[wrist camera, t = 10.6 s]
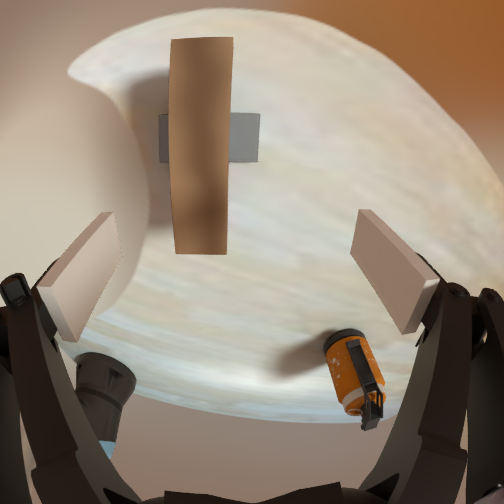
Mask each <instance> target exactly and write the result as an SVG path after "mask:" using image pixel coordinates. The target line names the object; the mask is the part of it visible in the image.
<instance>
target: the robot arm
mask: <svg viewBox="0 0 504 504" xmlns="http://www.w3.org/2000/svg"><path fill="white" fill-rule="evenodd" d="M350 254H351V255H352V257H353V258H354V260H355V261H356V263H357V264H358V266H359V267H360V268H361V270H362V271H363V273H364V275H365V276H366V278H367V279H368V281H369V282H370V284H371V285H372V287H373V288H374V290H375V291H376V293H377V295H378V296H379V298H380V299H381V301H382V303H383V304H384V306H385V307H386V309H387V311H388V312H389V314H390V316H391V317H392V319H393V321H394V322H395V324H396V326H397V327H398V329H399V331H400V332H401V334H402V335H403V334H409V333H414V332H416V330H417V329H418V327H419V325H420V323H421V322H422V323H423V325H424V326H425V329H424V330H423V332H422V334H421V336H420V338H419V340H418V341H417V343H416V345H415V346H416V347H417V346H418V345H419V348H418V352H417V355H416V359H415V363H414V366H413V370H412V373H411V377H410V380H409V383H408V386H407V390H406V393H405V396H404V398H403V401H402V404H401V407H400V410H399V412H398V415H397V418H396V420H395V423H394V426H393V428H392V430H391V433H390V435H389V437H388V440H387V442H386V444H385V446H384V449H383V451H382V453H381V455H380V457H379V459H378V461H377V464H376V465H375V467H374V468H373V470H372V471H371V472H370V474H369V475H368V476H367V477H366V478H365V480H364V481H363V483H362V484H361V486H360V487H359V489H353V488H341V485H340V482H336V483H331V484H327V485H322V486H316V487H311V488H305V489H299V490H296V491H293V492H290V493H288V494H285V495H282V496H279V497H276V498H273V499H269V500H266V501H263V502H259V503H245V502H240V501H235V500H230V499H225V498H221V497H217V496H213V495H208V494H194V493H181V492H171V491H165V493H164V497H157V498H152V499H149V500H145V501H141V499H140V498H139V497H138V496H137V494H136V493H135V492H134V491H133V490H132V489H131V488H130V487H129V486H128V485H127V484H126V483H125V482H124V480H123V479H122V478H121V477H120V475H119V474H118V472H117V471H116V470H115V468H114V466H113V464H112V463H111V461H110V458H111V457H112V455H113V451H114V447H115V445H116V438H117V432H118V427H119V422H120V417H121V412H122V408H123V406H124V405H125V403H126V402H127V400H128V399H129V397H130V396H131V395H132V393H133V392H134V389H135V385H136V378H135V376H134V374H133V373H132V371H131V370H130V369H129V368H127V367H126V366H125V365H124V364H122V363H121V362H119V361H117V360H115V359H113V358H111V357H109V356H106V355H103V354H98V353H85V354H83V355H81V356H80V358H79V361H78V363H77V367H76V390H74V388H73V386H72V383H71V381H70V378H69V376H68V373H67V370H66V367H65V364H64V362H63V359H62V356H61V353H60V350H59V347H58V343H57V341H56V340H55V338H54V335H55V333H56V332H57V330H58V332H59V334H60V336H61V338H62V339H63V340H64V341H70V342H78V340H79V337H80V335H81V333H82V331H83V329H84V327H85V325H86V323H87V321H88V319H89V317H90V315H91V313H92V311H93V309H94V307H95V305H96V303H97V301H98V299H99V298H100V296H101V294H102V292H103V290H104V288H105V287H106V285H107V283H108V281H109V279H110V278H111V276H112V274H113V272H114V271H115V269H116V267H117V265H118V264H119V262H120V260H121V259H122V257H123V256H122V251H121V247H120V242H119V238H118V233H117V228H116V223H115V217H114V212H105V213H101V214H100V215H99V216H98V217H97V218H96V219H95V220H94V221H93V222H92V223H91V224H90V225H89V226H88V227H87V228H86V229H85V230H84V231H83V232H82V233H81V234H80V235H79V237H78V238H77V239H76V240H75V241H74V242H73V243H72V244H71V245H70V246H69V248H68V249H67V250H66V251H65V252H64V253H63V254H62V256H61V257H59V258H58V259H57V260H55V261H54V262H53V263H52V264H51V265H50V266H49V267H48V268H47V271H45V272H44V273H43V276H41V277H40V279H38V281H37V282H36V283H35V284H34V286H33V287H32V288H31V290H30V288H29V286H28V284H27V281H26V278H25V276H24V274H22V273H15V274H12V275H10V276H8V277H7V278H5V279H4V280H3V281H2V282H1V284H0V293H1V296H2V298H3V300H4V302H5V304H6V306H4V307H0V504H32V500H31V493H32V486H33V485H34V487H35V489H36V492H37V494H38V496H39V498H40V500H41V502H42V504H454V503H455V500H456V497H457V494H458V491H459V488H460V485H461V482H462V479H463V475H464V472H465V467H466V464H467V463H468V464H467V477H466V504H504V301H503V299H502V297H501V296H500V295H499V294H498V292H496V291H495V290H493V289H490V288H483V289H482V291H481V293H480V295H479V297H474V296H470V293H469V292H468V291H467V289H465V288H464V287H463V286H461V285H459V284H457V283H453V282H449V283H447V282H446V281H445V280H444V279H443V278H442V277H441V276H440V274H439V273H438V272H437V271H436V270H435V269H433V267H432V266H431V265H430V264H428V262H427V261H426V260H425V259H424V258H423V256H421V255H420V254H418V253H416V252H415V251H413V250H412V249H411V248H410V247H409V246H408V245H407V244H406V243H405V242H404V241H403V240H402V239H401V238H400V237H399V236H398V235H397V234H396V233H395V232H394V231H393V230H392V229H391V228H390V227H389V226H388V225H387V224H386V223H385V222H384V221H383V220H381V219H380V218H379V217H378V216H377V215H376V214H375V213H374V212H373V211H372V210H363V209H359V211H358V217H357V222H356V227H355V233H354V238H353V242H352V247H351V252H350ZM486 333H487V338H486V341H485V343H484V340H483V338H484V336H485V335H486ZM466 409H467V418H468V419H467V422H468V454H467V451H466V450H464V449H461V447H460V441H461V437H462V432H463V427H464V421H465V416H466ZM467 458H468V462H467Z"/></svg>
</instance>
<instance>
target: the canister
mask: <svg viewBox="0 0 504 504" xmlns="http://www.w3.org/2000/svg"><path fill="white" fill-rule="evenodd" d="M324 354H325V357H326V360H327V364H328V367H329V370H330V373H331V377H332V380H333V384H334V387H335V390H336V394H337V397H338V401H339V402H340V403H341V404H343V407H344V410H345V412H346V413H347V414H348V415H351V416H360V415H361V416H362V423H363V424H362V425H361V429H362V430H364V431H366V430H370V429H373V428H376V427H377V424H378V422H379V420H380V418H383V403H384V401H385V399H386V392H385V389H384V385H385V381H384V379H383V377H382V374H381V372H380V370H379V367H378V365H377V363H376V360H375V358H374V356H373V354H372V351H371V349H370V347H369V345H368V342H367V340H366V338H365V336H364V334H363V333H362V332H361V331H358V330H347V331H343V332H341V333H338V334H336V335H335V336H333V337H332V338H331V339H330V340H329V341H328V342H327V343H326V344H325V347H324Z"/></svg>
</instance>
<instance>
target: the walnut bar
mask: <svg viewBox="0 0 504 504" xmlns="http://www.w3.org/2000/svg"><path fill="white" fill-rule="evenodd" d="M232 62H233V37H201V38H184V39H172V40H171V52H170V72H169V166H170V188H171V204H172V218H173V230H174V241H175V252H176V254H208V255H227V224H228V166H229V132H230V105H231V82H232Z"/></svg>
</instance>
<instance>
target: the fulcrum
mask: <svg viewBox="0 0 504 504" xmlns="http://www.w3.org/2000/svg"><path fill="white" fill-rule="evenodd" d="M259 127H260V114H256V113H230V132H229V161H233V162H258V145H259ZM159 152H160V163H161V162H169V114H164V115H159Z"/></svg>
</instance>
